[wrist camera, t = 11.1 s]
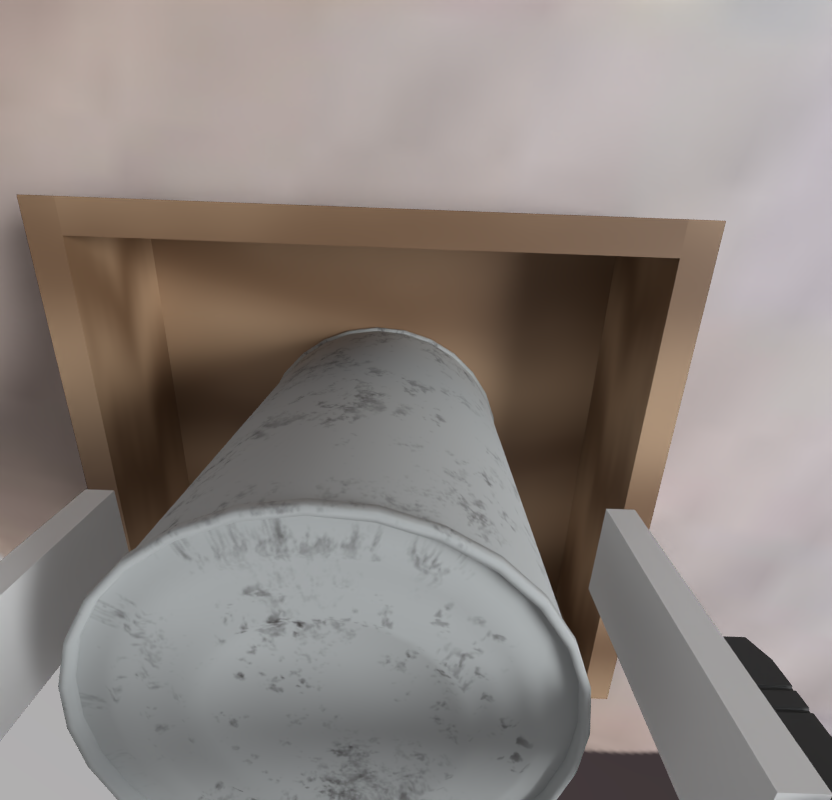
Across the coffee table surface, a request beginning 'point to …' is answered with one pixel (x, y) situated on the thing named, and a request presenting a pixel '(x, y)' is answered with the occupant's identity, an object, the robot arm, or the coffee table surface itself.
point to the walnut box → (385, 308)
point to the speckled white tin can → (336, 607)
